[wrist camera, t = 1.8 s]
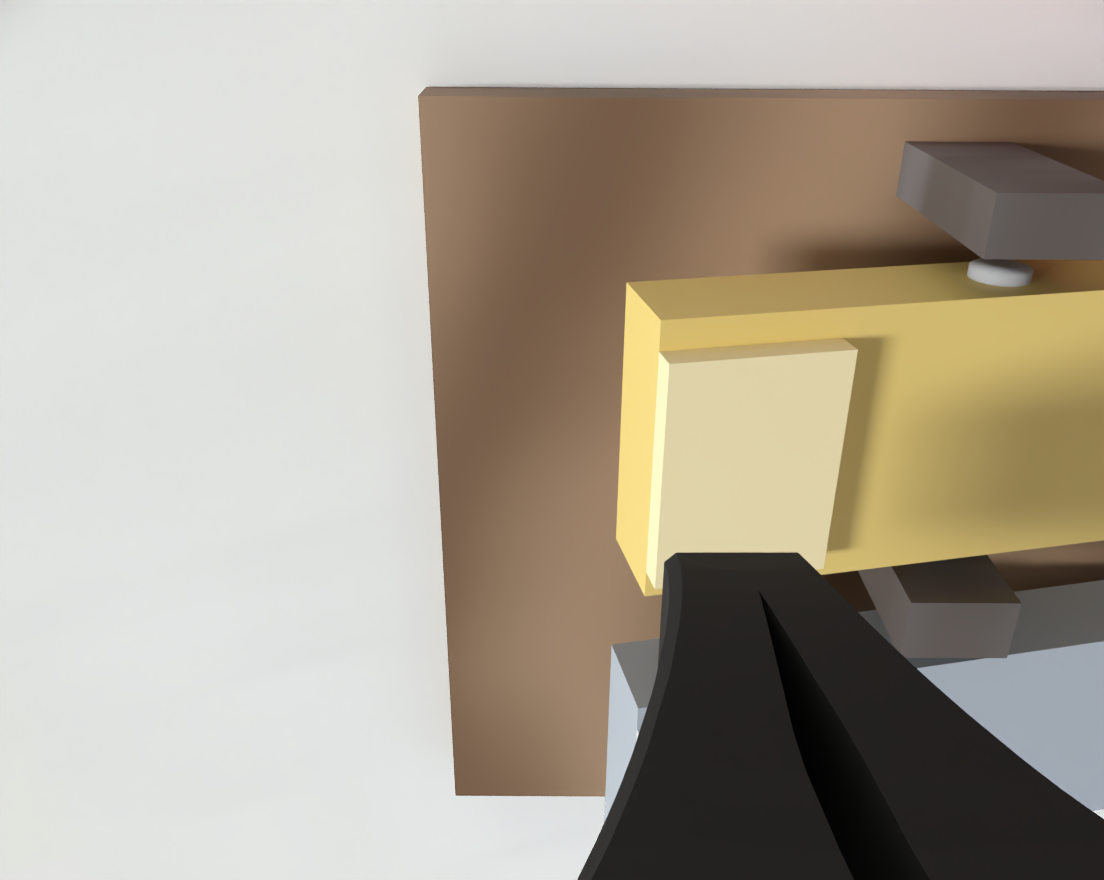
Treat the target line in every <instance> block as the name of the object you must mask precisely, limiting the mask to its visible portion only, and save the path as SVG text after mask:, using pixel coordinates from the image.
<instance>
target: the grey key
mask: <svg viewBox="0 0 1104 880" xmlns="http://www.w3.org/2000/svg"><path fill="white" fill-rule="evenodd" d="M1014 593H1015V595H1016V596H1017V597H1018V599H1019V600H1020V602H1021V603H1022V605H1021V609H1020V612H1019V616H1018V620H1017V623H1016V627H1015V631H1014V634H1013V638H1012V642H1011V645H1010V649H1009V653H1008V656H1007V658H906V659H907V660H908V661H909V662H910V663H911V664H912V665H914V666H915V667H916V668H917V669H918V670H919V671H920V672H921V673H922V674H923V675H924V676H926V677H927V678H928V679H929V680H930V681H931V682H932V683H933V684H934V685H935V686H937V687H938V688H939V689H940V690H941V691H942V692H943V693H944V694H946V695H947V696H948V697H949V698H950V699H951V700H952V701H954V702H955V703H956V704H957V705H958V706H959V707H960V708H962V709H963V710H964V711H965V712H966V713H967V714H969V715H970V716H971V717H972V718H973V719H975V720H976V721H977V722H978V723H979V724H981V725H982V726H983V727H984V728H985V729H987V730H988V731H989V732H990V733H992V734H993V735H994V736H995V737H996V738H998V739H999V740H1000V741H1001V742H1002V743H1004V744H1005V745H1006V746H1007V747H1008V748H1010V749H1011V750H1012V751H1013V752H1014V753H1016V754H1017V755H1018V756H1019V757H1021V758H1022V759H1023V760H1024V761H1026V762H1027V763H1028V764H1029V765H1031V766H1032V767H1033V768H1035V769H1036V770H1037V771H1038V772H1040V773H1041V774H1042V775H1044V776H1045V777H1046V778H1048V779H1049V780H1050V781H1052V782H1053V783H1054V784H1055V785H1057V786H1058V787H1059V788H1061V789H1062V790H1063V791H1065V792H1066V793H1068V794H1069V795H1070V796H1072V797H1073V798H1075V799H1076V800H1077V801H1079V802H1080V803H1082V804H1083V805H1084V806H1086V807H1087V808H1089V809H1090V810H1091V811H1094V810H1100V809H1104V580H1100V581H1093V582H1085V583H1077V584H1070V585H1062V586H1055V587H1047V588H1039V589H1032V590H1024V591H1016V592H1014ZM858 613H859V614H860V615H861V616H862V617H863V618H864V619H865V620H866V621H868V622H869V623H870V624H871V625H872V626H873V627H874V628H875V629H876V630H877V631H878V632H879V633H880V634H881V635H882V636H883V637H884V638H885V639H886V640H887V641H888V642H889V643H890V644H891V645H892V646H893V647H894V648H895V646H894V644H893V642H892V640H891V638H890V636H889V634H888V632H887V630H886V628H885V626H884V624H883V622H882V620H881V618H880V615H879V613H878V611H877V610H871V611H864V612H858ZM659 639H660V638H658V639H650V640H642V641H635V642H627V643H619V644H612V647H611V671H610V695H609V719H608V744H607V768H606V792H605V816H604V823H605V820H606V818H607V816H608V813H609V811H610V809H611V806H612V804H613V802H614V800H615V797H616V795H617V792H618V790H619V787H620V785H621V782H622V780H623V777H624V774H625V772H626V769H627V766H628V764H629V761H630V759H631V756H632V753H633V750H634V747H635V744H636V741H637V738H638V735H639V732H640V728H641V725H642V722H643V719H644V716H645V713H646V710H647V707H648V703H649V700H650V697H651V694H652V690H653V687H654V683H655V679H656V674H657V669H658V655H659ZM895 649H896V648H895Z"/></svg>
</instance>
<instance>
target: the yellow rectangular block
mask: <svg viewBox="0 0 1104 880" xmlns="http://www.w3.org/2000/svg"><path fill="white" fill-rule="evenodd" d="M616 540H617V542H618V544H619V546H620V548H621V550H622V552H623V554H624V556H625V558H626V560H627V562H628V564H629V566H630V568H631V570H632V572H633V574H634V576H635V578H636V580H637V582H638V584H639V586H640V588H641V590H642V592H643V594H644V596H652V595H661V594H662V589H663V573H664V562H665V561H666V560H668V559H669V558H670V557H671V556H673V555H674V554H675V553H690V552H798V553H799V554H800V555H801V556H802V557H803V558H804V559H805V560H806V561H808V562H809V563H810V564H811V565H812V566H813V567H814V568H815V569H816V570H817V571H818V572H819V573H820V574H821V575H824V574H832V573H840V572H849V571H857V570H865V569H873V568H881V567H889V566H898V565H906V564H914V563H922V562H930V561H939V560H947V559H955V558H963V557H971V556H979V555H988V554H996V553H1004V552H1012V551H1020V550H1028V549H1037V548H1045V547H1053V546H1061V545H1069V544H1077V543H1086V542H1094V541H1102V540H1104V260H1021V259H1006V260H1005V259H976V260H972V261H971V262H956V263H939V264H923V265H906V266H889V267H873V268H856V269H839V270H823V271H806V272H789V273H773V274H756V275H739V276H723V277H706V278H689V279H673V280H656V281H639V282H627V284H626V308H625V332H624V356H623V380H622V405H621V429H620V453H619V477H618V502H617V526H616Z"/></svg>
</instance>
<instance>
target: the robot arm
mask: <svg viewBox="0 0 1104 880" xmlns="http://www.w3.org/2000/svg"><path fill="white" fill-rule="evenodd" d="M578 880H1104V819H1102V818H1101V817H1100V816H1098V815H1097V814H1096V813H1094V812H1093V811H1091V810H1090V809H1089V808H1087V807H1086V806H1084V805H1083V804H1082V803H1080V802H1079V801H1077V800H1076V799H1075V798H1073V797H1072V796H1070V795H1069V794H1068V793H1066V792H1065V791H1063V790H1062V789H1061V788H1059V787H1058V786H1057V785H1055V784H1054V783H1053V782H1052V781H1050V780H1049V779H1048V778H1046V777H1045V776H1044V775H1042V774H1041V773H1040V772H1038V771H1037V770H1036V769H1035V768H1033V767H1032V766H1031V765H1029V764H1028V763H1027V762H1026V761H1024V760H1023V759H1022V758H1021V757H1019V756H1018V755H1017V754H1016V753H1014V752H1013V751H1012V750H1011V749H1010V748H1008V747H1007V746H1006V745H1005V744H1004V743H1002V742H1001V741H1000V740H999V739H998V738H996V737H995V736H994V735H993V734H992V733H990V732H989V731H988V730H987V729H985V728H984V727H983V726H982V725H981V724H979V723H978V722H977V721H976V720H975V719H973V718H972V717H971V716H970V715H969V714H967V713H966V712H965V711H964V710H963V709H962V708H960V707H959V706H958V705H957V704H956V703H955V702H954V701H952V700H951V699H950V698H949V697H948V696H947V695H946V694H944V693H943V692H942V691H941V690H940V689H939V688H938V687H937V686H935V685H934V684H933V683H932V682H931V681H930V680H929V679H928V678H927V677H926V676H924V675H923V674H922V673H921V672H920V671H919V670H918V669H917V668H916V667H915V666H914V665H912V664H911V663H910V662H909V661H908V660H907V659H906V658H905V657H904V656H903V655H902V654H901V653H900V652H899V651H897V650H896V649H895V648H894V647H893V646H892V645H891V644H890V643H889V642H888V641H887V640H886V639H885V638H884V637H883V636H882V635H881V634H880V633H879V632H878V631H877V630H876V629H875V628H874V627H873V626H872V625H871V624H870V623H869V622H868V621H866V620H865V619H864V618H863V617H862V616H861V615H860V614H859V613H858V612H857V611H856V610H855V609H854V608H853V607H852V606H851V605H850V604H849V603H848V602H847V601H846V600H845V599H844V598H843V597H842V596H841V595H840V594H839V593H838V592H837V591H836V590H835V589H834V588H833V587H832V586H831V585H830V584H829V583H828V582H827V581H826V580H825V578H824V577H823V576H822V575H821V574H820V573H819V572H818V571H817V570H816V569H815V568H814V567H813V566H812V565H811V564H810V563H809V562H808V561H806V560H805V559H804V558H803V557H802V556H801V555H800V554H799V553H798V552H690V553H675V554H674V555H673V556H671V557H670V558H669V559H668V560H666V561H665V562H664V573H663V589H662V606H661V622H660V639H659V655H658V669H657V674H656V679H655V683H654V687H653V690H652V694H651V697H650V700H649V703H648V707H647V710H646V713H645V716H644V719H643V722H642V725H641V728H640V732H639V735H638V738H637V741H636V744H635V747H634V750H633V753H632V756H631V759H630V761H629V764H628V766H627V769H626V772H625V774H624V777H623V780H622V782H621V785H620V787H619V790H618V792H617V795H616V797H615V800H614V802H613V804H612V806H611V809H610V811H609V813H608V816H607V818H606V820H605V823H604V825H603V827H602V830H601V832H600V834H599V836H598V838H597V841H596V843H595V845H594V847H593V849H592V851H591V853H590V855H589V857H588V859H587V861H586V863H585V865H584V867H583V869H582V871H581V873H580V875H579V878H578Z"/></svg>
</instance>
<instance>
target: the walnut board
mask: <svg viewBox="0 0 1104 880" xmlns="http://www.w3.org/2000/svg"><path fill="white" fill-rule="evenodd" d="M418 100H419V118H420V137H421V156H422V175H423V193H424V212H425V231H426V250H427V268H428V287H429V306H430V325H431V343H432V362H433V381H434V400H435V418H436V437H437V456H438V475H439V493H440V512H441V531H442V550H443V568H444V587H445V606H446V625H447V643H448V662H449V681H450V700H451V718H452V737H453V756H454V775H455V793H456V795H458V796H605V792H606V768H607V744H608V719H609V695H610V671H611V647H612V644H619V643H627V642H635V641H642V640H650V639H658V638H660V622H661V606H662V594H661V595H652V596H644V594H643V592H642V590H641V588H640V586H639V584H638V582H637V580H636V578H635V576H634V574H633V572H632V570H631V568H630V566H629V564H628V562H627V560H626V558H625V556H624V554H623V552H622V550H621V548H620V546H619V544H618V542H617V540H616V526H617V502H618V477H619V453H620V429H621V405H622V380H623V356H624V332H625V308H626V284H627V282H639V281H656V280H673V279H689V278H706V277H723V276H739V275H756V274H773V273H789V272H806V271H823V270H839V269H856V268H873V267H889V266H906V265H923V264H939V263H956V262H971V261H972V260H976V259H1005V260H1006V259H1021V260H1104V91H969V90H806V89H643V88H480V87H426V88H425V89H424V90H423V91H422V92H421V94H420V95H419V96H418ZM822 576H823V577H824V578H825V580H826V581H827V582H828V583H829V584H830V585H831V586H832V587H833V588H834V589H835V590H836V591H837V592H838V593H839V594H840V595H841V596H842V597H843V598H844V599H845V600H846V601H847V602H848V603H849V604H850V605H851V606H852V607H853V608H854V609H855V610H856V611H857V612H864V611H871V610H877V611H878V613H879V615H880V618H881V620H882V622H883V624H884V626H885V628H886V630H887V632H888V634H889V636H890V638H891V640H892V642H893V644H894V646H895V648H896V650H897V651H899V652H900V653H901V654H902V655H903V656H904V657H905V658H1007V656H1008V653H1009V649H1010V645H1011V642H1012V638H1013V634H1014V631H1015V627H1016V623H1017V620H1018V616H1019V612H1020V609H1021V605H1022V603H1021V602H1020V600H1019V599H1018V597H1017V596H1016V595H1015V593H1014V592H1016V591H1024V590H1032V589H1039V588H1047V587H1055V586H1062V585H1070V584H1077V583H1085V582H1093V581H1100V580H1104V540H1102V541H1094V542H1086V543H1077V544H1069V545H1061V546H1053V547H1045V548H1037V549H1028V550H1020V551H1012V552H1004V553H996V554H988V555H979V556H971V557H963V558H955V559H947V560H939V561H930V562H922V563H914V564H906V565H898V566H889V567H881V568H873V569H865V570H857V571H849V572H840V573H832V574H824V575H822Z"/></svg>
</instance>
